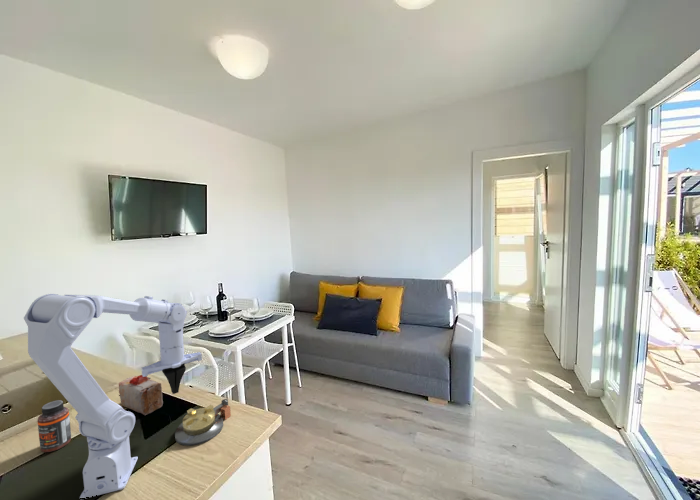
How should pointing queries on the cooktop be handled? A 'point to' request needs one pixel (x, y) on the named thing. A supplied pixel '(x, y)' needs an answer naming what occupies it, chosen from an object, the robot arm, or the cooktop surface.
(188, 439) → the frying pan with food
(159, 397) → the food item
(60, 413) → the supplement bottle
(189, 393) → the cooktop surface
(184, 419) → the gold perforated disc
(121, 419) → the robot arm
